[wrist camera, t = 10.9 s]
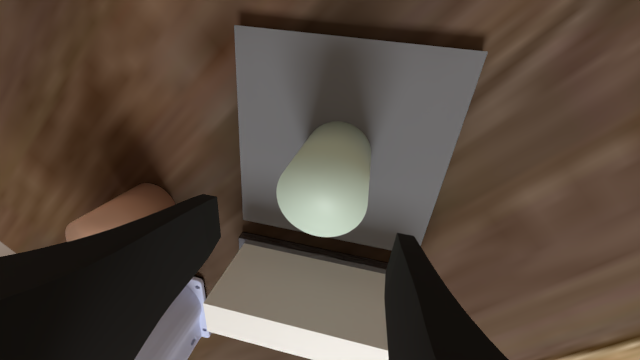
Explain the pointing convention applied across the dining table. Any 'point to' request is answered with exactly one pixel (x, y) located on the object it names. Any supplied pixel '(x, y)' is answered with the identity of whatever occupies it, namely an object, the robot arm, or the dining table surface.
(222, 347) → the dining table surface
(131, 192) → the terracotta part
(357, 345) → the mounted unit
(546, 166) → the dining table surface
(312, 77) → the pad
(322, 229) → the sage part
